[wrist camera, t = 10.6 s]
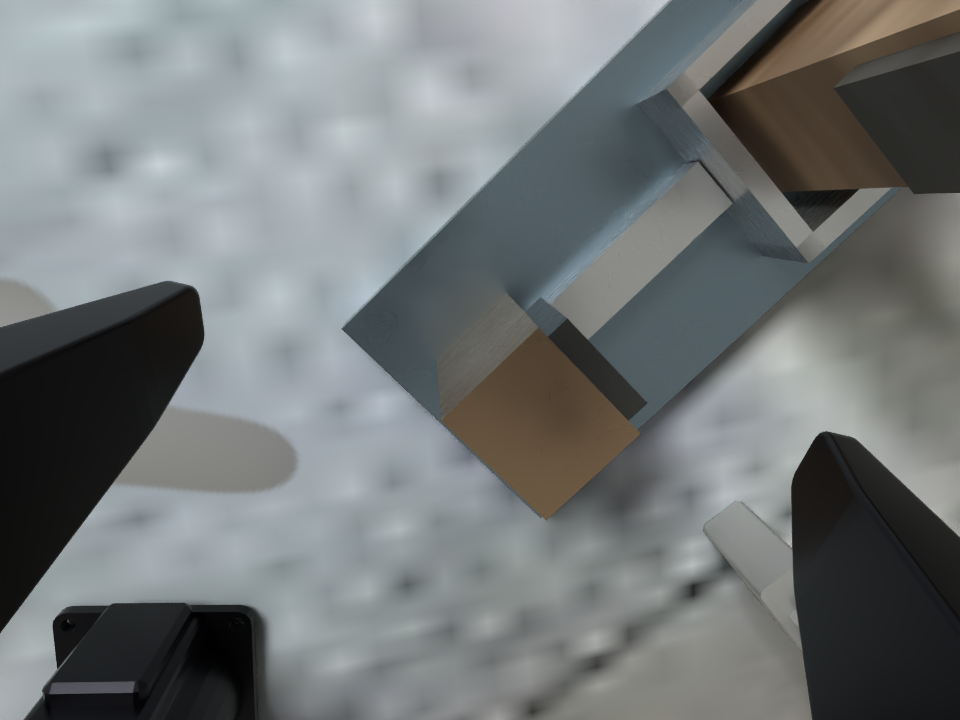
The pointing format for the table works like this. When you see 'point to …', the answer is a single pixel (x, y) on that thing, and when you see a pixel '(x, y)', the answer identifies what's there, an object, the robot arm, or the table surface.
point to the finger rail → (605, 260)
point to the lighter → (758, 562)
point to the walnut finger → (853, 97)
